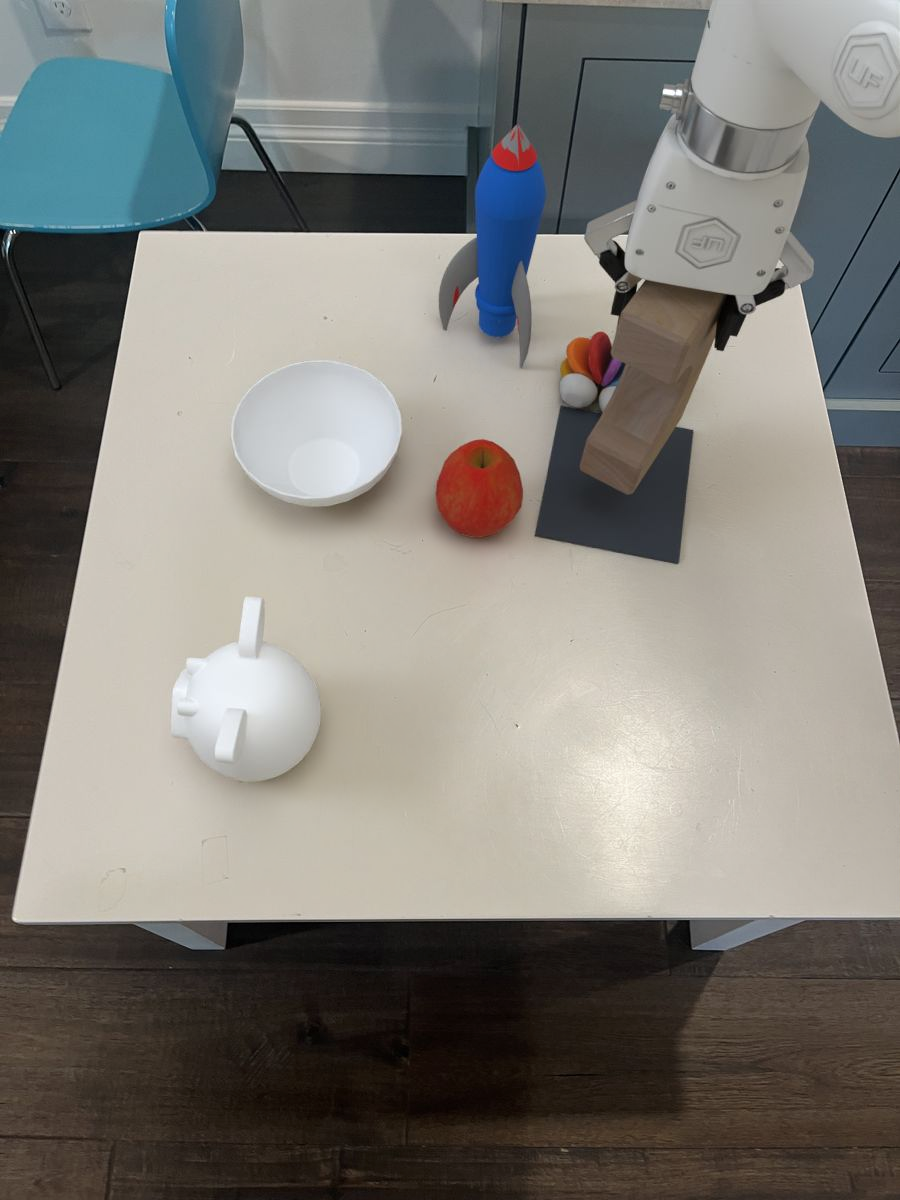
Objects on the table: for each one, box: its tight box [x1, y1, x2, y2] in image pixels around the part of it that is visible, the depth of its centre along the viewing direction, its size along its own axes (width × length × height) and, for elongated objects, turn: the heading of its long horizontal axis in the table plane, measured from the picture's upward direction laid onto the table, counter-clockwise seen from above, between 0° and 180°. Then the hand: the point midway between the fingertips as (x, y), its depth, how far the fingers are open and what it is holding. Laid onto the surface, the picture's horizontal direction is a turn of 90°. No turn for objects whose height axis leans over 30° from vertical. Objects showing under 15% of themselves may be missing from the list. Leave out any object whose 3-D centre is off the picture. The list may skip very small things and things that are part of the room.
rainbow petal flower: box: [559, 331, 626, 413], centre depth 90 cm, size 8×10×7 cm
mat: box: [534, 404, 694, 565], centre depth 88 cm, size 14×16×1 cm
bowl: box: [230, 359, 403, 508], centre depth 85 cm, size 16×16×7 cm
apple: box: [435, 438, 524, 538], centre depth 81 cm, size 8×8×11 cm
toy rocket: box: [438, 123, 547, 369], centre depth 85 cm, size 11×10×25 cm
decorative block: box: [580, 279, 728, 495], centre depth 73 cm, size 11×6×20 cm, turn 146°
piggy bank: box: [170, 595, 322, 782], centre depth 69 cm, size 12×12×15 cm
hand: (671, 327), depth 69 cm, fingers closed on decorative block, 7 cm apart
